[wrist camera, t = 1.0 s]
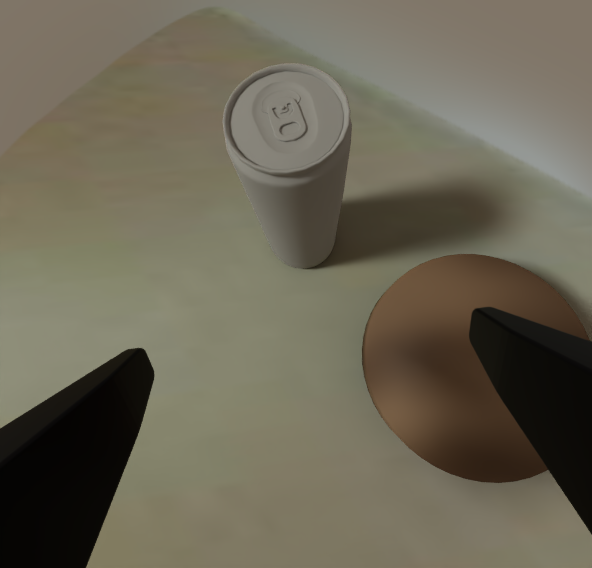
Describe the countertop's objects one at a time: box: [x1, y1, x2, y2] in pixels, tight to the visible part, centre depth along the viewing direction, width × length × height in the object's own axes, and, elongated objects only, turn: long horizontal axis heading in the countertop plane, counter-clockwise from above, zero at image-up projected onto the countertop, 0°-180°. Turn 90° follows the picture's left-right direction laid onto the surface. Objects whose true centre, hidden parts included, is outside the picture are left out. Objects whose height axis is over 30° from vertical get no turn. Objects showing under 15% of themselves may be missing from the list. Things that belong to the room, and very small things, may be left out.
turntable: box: [362, 254, 590, 483], centre depth 18 cm, size 12×12×2 cm
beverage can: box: [223, 63, 352, 269], centre depth 17 cm, size 5×5×12 cm
